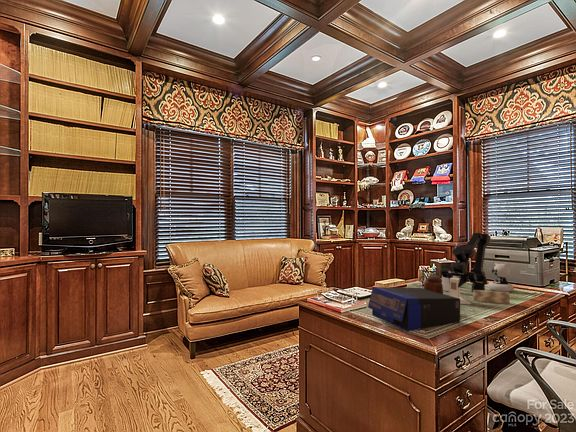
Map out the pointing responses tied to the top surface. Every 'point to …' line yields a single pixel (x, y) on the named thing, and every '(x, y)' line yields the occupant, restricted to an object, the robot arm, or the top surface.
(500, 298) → the birch partition
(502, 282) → the decorative figurine
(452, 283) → the plain beige block
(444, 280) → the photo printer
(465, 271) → the robot arm
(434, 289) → the wooden figurine
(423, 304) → the headphone box
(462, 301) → the pad
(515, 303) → the top surface
